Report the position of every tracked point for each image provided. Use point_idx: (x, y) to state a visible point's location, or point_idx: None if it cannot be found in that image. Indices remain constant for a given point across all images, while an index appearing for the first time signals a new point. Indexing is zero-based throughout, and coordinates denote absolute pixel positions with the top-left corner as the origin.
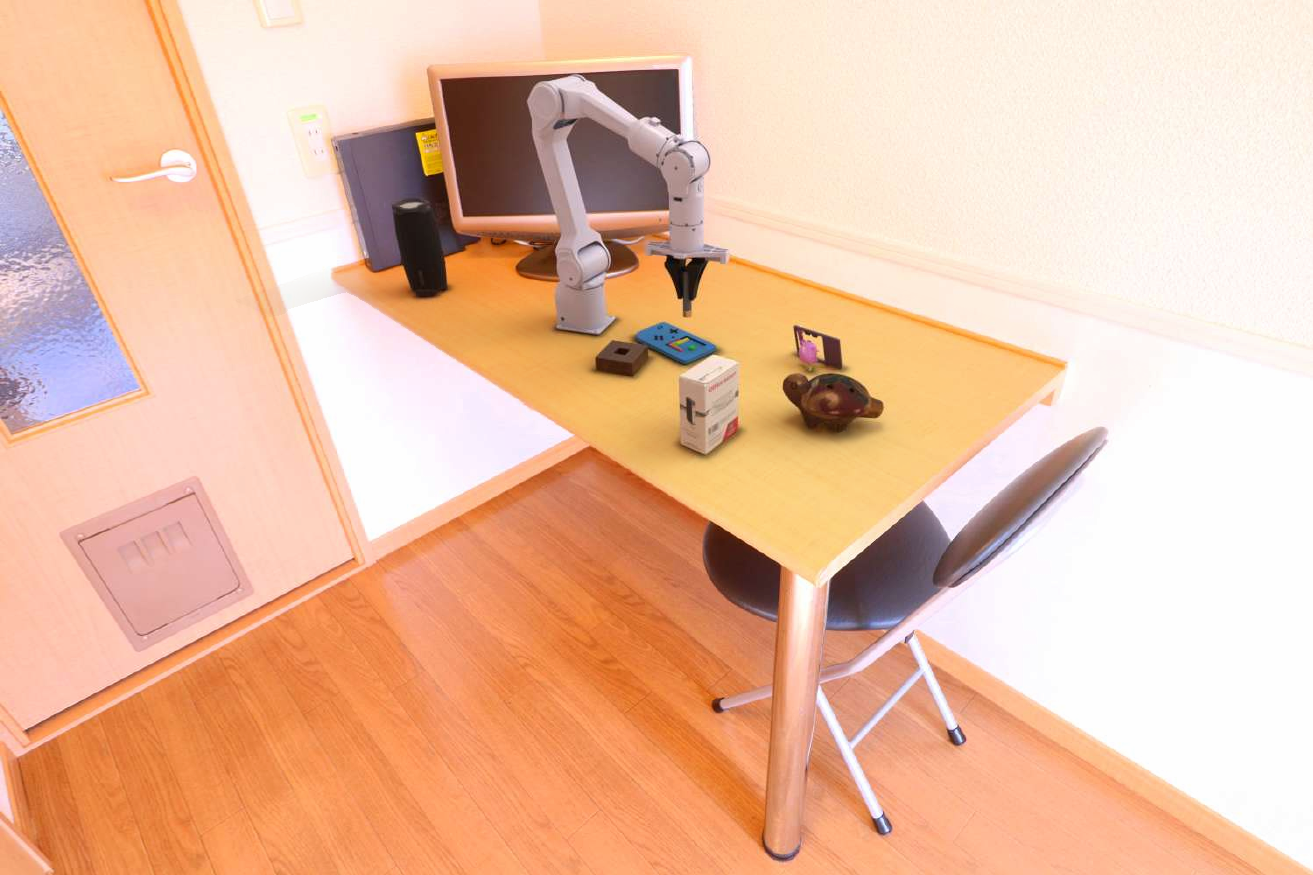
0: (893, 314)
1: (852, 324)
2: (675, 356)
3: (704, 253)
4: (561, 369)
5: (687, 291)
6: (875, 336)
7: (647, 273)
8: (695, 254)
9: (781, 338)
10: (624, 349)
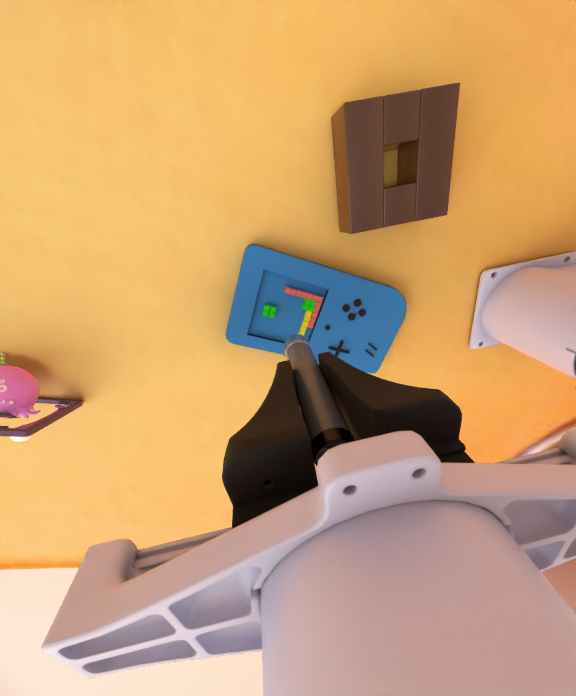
0: (63, 562)
1: (89, 517)
2: (279, 252)
3: (196, 580)
4: (522, 52)
5: (303, 379)
6: (26, 507)
7: None
8: (259, 541)
9: (153, 432)
10: (399, 185)
